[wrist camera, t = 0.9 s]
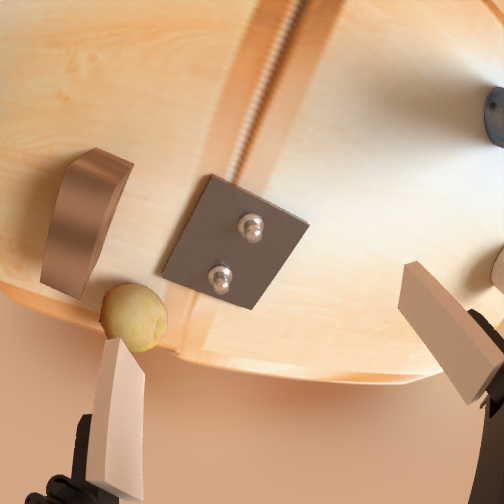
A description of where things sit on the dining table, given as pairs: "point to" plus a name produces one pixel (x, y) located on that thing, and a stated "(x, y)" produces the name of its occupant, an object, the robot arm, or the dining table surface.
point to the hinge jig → (233, 244)
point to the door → (82, 219)
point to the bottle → (495, 116)
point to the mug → (498, 272)
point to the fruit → (134, 317)
